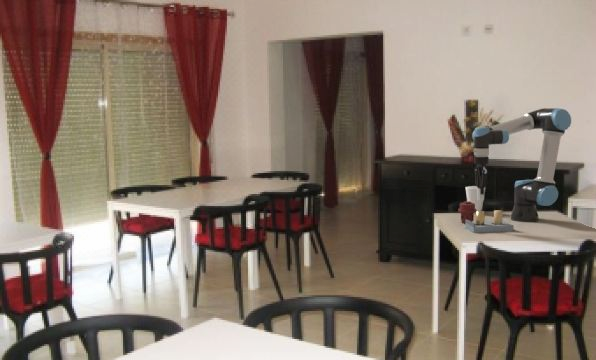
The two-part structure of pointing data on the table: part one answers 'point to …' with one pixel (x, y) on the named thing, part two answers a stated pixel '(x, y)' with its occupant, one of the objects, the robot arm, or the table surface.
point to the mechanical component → (467, 211)
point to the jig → (490, 224)
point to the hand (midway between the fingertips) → (480, 199)
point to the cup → (474, 197)
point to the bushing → (480, 218)
